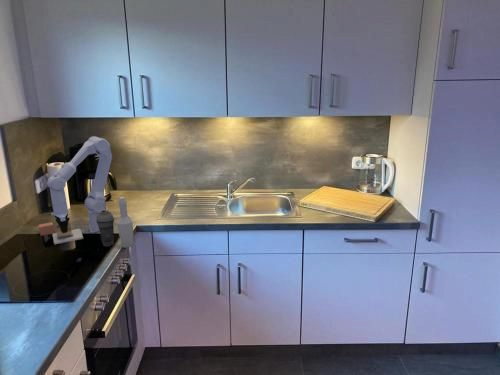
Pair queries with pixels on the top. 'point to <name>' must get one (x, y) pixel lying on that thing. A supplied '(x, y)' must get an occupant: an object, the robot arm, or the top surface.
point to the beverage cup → (106, 227)
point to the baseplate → (68, 237)
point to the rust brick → (46, 228)
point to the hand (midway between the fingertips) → (64, 230)
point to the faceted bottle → (125, 225)
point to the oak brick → (60, 234)
